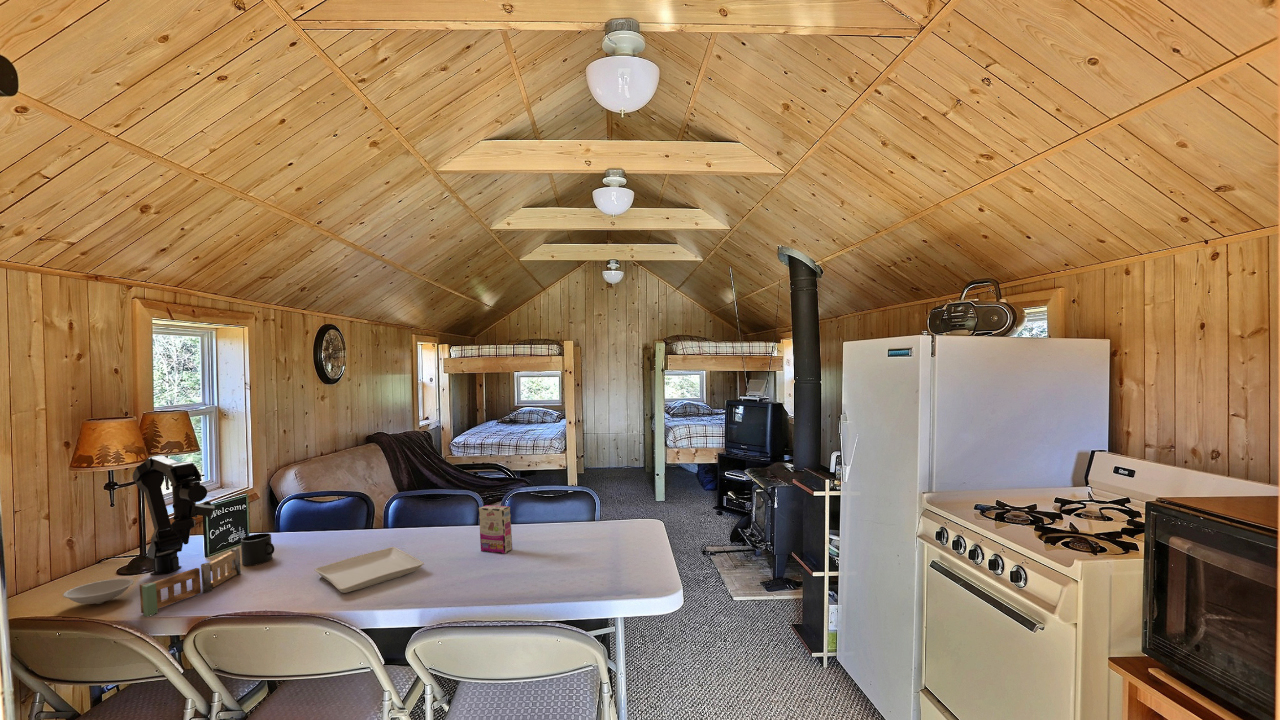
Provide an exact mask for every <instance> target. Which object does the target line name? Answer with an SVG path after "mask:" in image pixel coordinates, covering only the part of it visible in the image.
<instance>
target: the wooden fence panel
mask: <svg viewBox="0 0 1280 720" xmlns="http://www.w3.org/2000/svg"><path fill="white" fill-rule="evenodd" d="M240 551H241V550H240V547H234V548H231V549H230V551H229V552H228V553H225V554H223V555H221V556H219V557H217V558H216V559H213V560H211V561H210V562H205V563H201V564H200V577H201V593H202V592H203V594H206V593H210V592H212V589H213V588H215V587H217V586H219V585H220V584H222V583H224V582H225V581H228V580H229V579H231V578H233V577H235V576H239V575H241V574H242V571H241V570H242V569H241V555H240V554H241V553H240ZM211 574H212V576H211Z"/></svg>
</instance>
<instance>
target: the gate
mask: <svg viewBox="0 0 1280 720" xmlns="http://www.w3.org/2000/svg"><path fill="white" fill-rule="evenodd" d="M190 580H191V589H190V590H188V585H187V583H188V582H187V581H190ZM149 583H150V582H143V583H140V584H139V586H138V587H139V597H140V598H139V599H140V613H141V614H144V610H143V594H142V586H143V585H146V584H149ZM151 583H155V584H156V593H157V609H161V608H164V607H166V606H169V605H172V604H175V603H177V602H180V601H183V600H186V599H188V598H191V597H194V596H196V595H199V594H201V593H202V584H201V567H200V568H199V567H195V568H191V569H188V570H186V571H183V572H180V573H176V574H174V575H171V576H167V577H164V578H162V579H158V580H155V581H152V582H151ZM177 584H180V593H177V594H176V595H175V585H177ZM166 588H167V598H164V599H162V590H163V589H166Z"/></svg>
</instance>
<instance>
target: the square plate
mask: <svg viewBox="0 0 1280 720" xmlns="http://www.w3.org/2000/svg"><path fill="white" fill-rule="evenodd" d="M423 565H425V563H424V562H423V561H421V560H420V559H418V558H416V557H415V556H412V555H411V554H409V553H407V552H405V551H403V550H401V549H399V548H397V547H394V546H391V547H387V548H384V549H380V550H375V551H371V552H367V553H364V554H361V555H360V554H359V555H356V556H353V557H350V558H346V559H343V560H339V561H336V562H333V563H329V564H326V565H322V566H318V567H316V568H314V572H316V573H317V574H318V575H320V576H321V577H322V578H324V579H325V580H327V581H328V582H329V583H331V584H332V585H333V586H334V587H335V588H336V589H337V590H338V591H339V592H340V593H343V594H345V593H347V594H348V593H351V592H354V591H358V590H361V589H365V588H368V587H371V586H374V585H377V584H381V583H383V582H388V581H390V580H393V579H396V578H400V577H402V576H405V575H407V574H410V573H413V572H415V571H418V570H419V569H420V568H421V567H422V566H423Z"/></svg>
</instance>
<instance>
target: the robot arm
mask: <svg viewBox="0 0 1280 720" xmlns="http://www.w3.org/2000/svg"><path fill="white" fill-rule="evenodd" d="M165 475H166V478H167V480H168V481H169V483H170V485H169V486H170V487H172V492H171V493H172V509H173V516H172V517H173V519H172V520H173V521H172V523H171V520H170V515H169V512H168V508H167V505H166V501H165V497H164V493H163V490H162V486H163V483H164V481H165ZM132 480H133V482H135V486H136V488H138V489H139V490H140V491H142V492H143V493H144V496H145V499H146V504H147V506H148V510H149V515H150V518H151V521H152V526H153V533H152V535H151V536H150V537H151V538H150V541H151V542H150V545H149V546H148V548H147V551H146V553H147V558H148V559H149V558H150V559H152V561H153V571H152V572H150V574H149V575H151V576H152V575H154V576H155V575H168V574H171V573H172V572H175V571H177V570H180V569H181V568H182V565H180V562H179V560H180V559H179V556H178V553H180V552H182V551H183V545H188V544H189V542H190V536H191V530H192V528H193V529H194V528H195V527H196V523H197V519H196V518H198V516H203V517H206V518H212V516H213V513H214V510H215V508H216V506H215V505H214V504H213V505H212V503H211V501H210V500H209V501H208V500H205V501H204V502H203V500H204V499H206V498H207V496H208V490H207V487H206V486H205V485H203V484H201V482H202V481H203V480H202V474H201V473H200V471H199V469H198V467H197V465H196V464H195V463H193V462H192V461H180V462H178V461H176V460H173V459H171V458H169V457H167V456H165V455H155V456H149V457H147V458H146V459H145V460H144V461H143V462H142V463H141V464H139V465H137V466H136V467H135V469H134V471H133V473H132ZM201 501H202V502H203V503H200V502H201ZM198 502H199V503H198Z"/></svg>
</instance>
